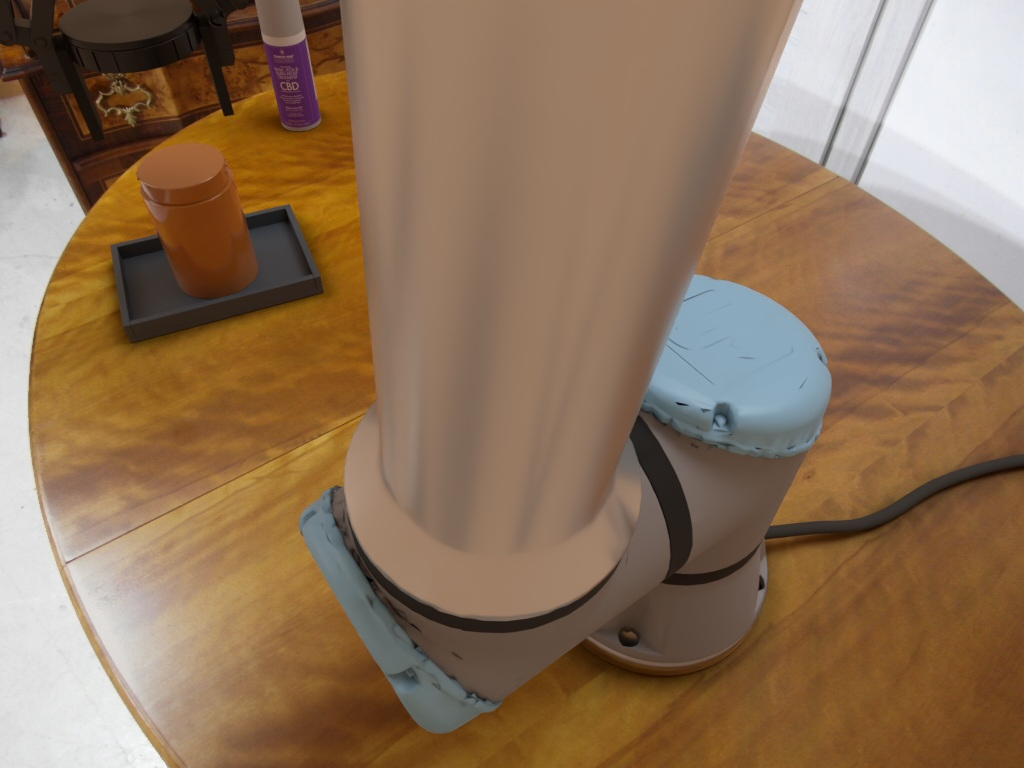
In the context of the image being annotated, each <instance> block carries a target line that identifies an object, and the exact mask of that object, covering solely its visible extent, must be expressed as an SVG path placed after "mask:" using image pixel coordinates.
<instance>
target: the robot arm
mask: <svg viewBox="0 0 1024 768" xmlns="http://www.w3.org/2000/svg"><path fill="white" fill-rule="evenodd" d="M804 1H805V0H339V10H340V20H341V30H342V43H343V50H344V51H343V53H344V63H345V65H344V66H345V73H346V74H345V75H346V84H347V85H346V86H347V95H348V97H347V98H348V107H349V117H350V119H349V120H350V128H351V129H350V130H351V139H352V151H353V161H354V173H355V182H356V194H357V205H358V215H359V225H360V236H361V247H362V258H363V260H362V261H363V269H364V281H365V290H366V291H365V292H366V301H367V303H366V304H367V312H368V313H367V314H368V323H369V337H370V345H371V357H372V366H373V368H372V369H373V379H374V390H375V401H374V402H373V403H372V404H370V406H369V407H368V409H367V410H366V412H365V413H364V415H363V416H362V418H361V419H360V421H359V423H358V424H357V426H356V428H355V430H354V432H353V434H352V435H351V439H350V442H349V445H348V448H347V450H346V454H345V460H344V466H343V486H340V485H337V484H336V485H334V486H332V487H330V488H327V489H325V490H324V491H323V492H322V493H321V494H320V495H321V496H320V497H319V498H317V499H316V500H314V501H313V502H311V503H310V504H309V505H308V506H306V507H305V508H304V509H303V510H302V512H301V514H300V515H299V519H298V530H299V533H300V535H301V536H302V538H303V541H304V544H305V546H306V548H307V550H308V551H309V553H310V555H311V557H312V559H313V560H314V562H315V564H316V566H317V568H318V569H319V571H320V572H321V574H322V576H323V578H324V579H325V581H326V583H327V584H328V586H329V588H330V589H331V591H332V593H333V594H334V596H335V598H336V600H337V601H338V603H339V605H340V606H341V607H342V610H343V611H344V613H345V614H346V617H347V618H348V620H349V621H350V623H351V625H352V626H353V629H355V631H356V633H357V635H358V636H359V638H360V639H361V642H363V645H364V646H365V648H366V649H367V651H368V652H369V654H370V655H371V657H372V658H373V660H374V662H375V663H376V664H377V666H378V667H379V668H380V670H381V671H382V674H383V675H384V677H385V678H386V680H387V681H388V682H389V683H390V685H391V687H392V689H393V691H394V693H395V695H397V697H398V699H399V701H400V702H401V704H402V706H403V707H404V708H405V710H406V711H407V713H408V714H409V715H410V717H411V718H412V720H414V722H415V723H416V725H418V727H421V728H422V729H423V730H425V731H426V732H428V733H429V732H430V733H433V734H439V735H441V734H449V733H451V732H454V731H456V730H458V729H459V728H461V727H462V726H464V725H465V724H467V723H468V722H470V721H472V720H473V719H475V718H477V717H478V716H480V715H481V714H484V713H485V714H487V713H492V712H493V711H495V710H496V709H498V708H499V707H500V706H501V705H502V704H503V701H504V700H505V699H506V698H507V697H508V696H510V695H512V693H514V692H515V691H516V690H518V689H519V688H520V687H522V686H524V684H526V683H527V682H529V681H530V680H531V679H533V678H534V677H535V676H537V675H538V674H540V673H541V672H542V671H544V670H545V669H546V668H548V667H549V666H550V665H552V664H553V663H555V662H556V661H557V660H559V659H560V658H561V657H563V656H564V655H566V653H568V652H570V651H571V650H572V649H574V648H575V647H576V646H578V645H579V644H580V645H581V646H582V647H583V648H584V649H586V650H587V651H589V652H590V653H592V655H595V656H596V657H597V658H600V660H603V661H605V662H607V663H609V664H611V665H613V666H616V667H618V668H620V669H624V670H627V671H630V672H633V673H638V674H643V675H649V676H650V675H651V676H663V677H665V676H666V677H668V676H680V675H685V674H686V675H687V674H691V673H694V672H695V673H696V672H699V671H702V670H704V669H708V668H709V667H712V666H714V665H715V664H717V663H720V662H721V661H723V660H724V659H725V658H727V657H728V656H730V655H731V654H732V653H733V652H735V650H737V649H738V648H739V646H740V645H741V644H742V643H743V642H744V641H745V640H746V638H747V636H748V635H749V634H750V632H751V631H752V629H753V627H754V625H755V623H756V622H757V620H758V618H759V616H760V614H761V613H762V610H763V607H764V605H765V602H766V599H767V594H768V588H769V564H768V563H769V562H768V558H767V549H766V540H775V539H784V538H785V539H786V538H792V537H802V536H803V537H804V536H810V535H811V536H812V535H832V534H849V533H850V534H851V533H855V532H861V531H866V530H870V529H872V528H875V527H878V526H880V525H883V524H885V523H887V522H889V521H891V520H893V519H896V518H897V517H899V516H901V515H903V514H904V513H906V512H907V511H908V510H910V509H912V508H914V507H915V506H917V505H918V504H919V503H921V502H923V501H924V500H925V499H927V498H929V497H930V496H932V495H934V494H936V493H937V492H940V491H941V490H944V489H946V488H949V487H951V486H953V485H956V484H959V483H962V482H964V481H968V480H971V479H974V478H977V477H980V476H983V475H986V474H990V473H995V472H1000V471H1003V470H1009V469H1013V468H1014V469H1015V468H1020V467H1024V453H1021V454H1015V455H1010V456H1004V457H998V458H994V459H991V460H987V461H982V462H979V463H975V464H972V465H969V466H968V465H967V466H965V467H963V468H959V469H956V470H954V471H950V472H948V473H945V474H943V475H940V476H937V477H935V478H933V479H931V480H929V481H927V482H925V483H923V484H921V485H920V486H918V487H916V488H915V489H913V490H911V491H910V492H909V493H907V494H905V495H903V496H902V497H900V498H899V499H898V500H896V501H895V502H893V503H891V504H890V505H888V506H885V507H884V508H882V509H880V510H878V511H875V512H873V513H871V514H868V515H865V516H861V517H857V518H852V519H842V520H837V519H836V520H815V521H814V520H811V521H803V522H792V523H783V524H774V525H772V523H773V521H774V518H775V517H776V515H777V513H778V511H779V509H780V507H781V505H782V503H783V502H784V499H785V497H786V496H787V494H788V492H789V490H790V488H791V486H792V484H793V482H794V480H795V478H796V476H797V474H798V472H799V470H800V468H801V466H802V464H803V463H804V460H805V459H806V456H807V454H808V453H809V451H810V449H812V447H813V445H814V443H816V442H817V441H818V439H819V438H820V437H821V435H820V434H821V432H822V429H823V418H824V416H825V413H826V410H827V408H828V405H829V402H830V399H831V395H832V386H833V383H832V382H833V380H832V379H833V378H832V374H831V372H830V370H829V368H828V359H827V355H826V353H825V351H824V349H823V348H822V346H821V344H820V342H819V341H818V339H817V338H816V337H815V335H814V334H813V332H812V331H811V330H810V329H809V328H808V327H807V326H806V325H805V324H804V323H803V322H802V321H801V320H800V319H799V318H798V317H797V316H796V315H794V313H793V312H791V311H790V310H789V309H787V308H786V307H784V306H783V305H781V304H780V303H779V302H777V301H775V300H773V299H772V298H770V297H768V296H767V295H765V294H762V293H760V292H758V291H756V290H754V289H752V288H750V287H749V286H744V285H742V284H739V283H737V282H734V281H730V280H726V279H718V278H713V277H710V276H707V275H703V274H696V271H697V268H698V265H699V263H700V260H701V258H702V256H703V253H704V251H705V249H706V246H707V243H708V241H709V238H710V235H711V233H712V231H713V228H714V226H715V223H716V220H717V217H718V215H719V213H720V210H721V208H722V205H723V203H724V201H725V198H726V195H727V193H728V190H729V188H730V186H731V184H732V181H733V179H734V176H735V173H736V171H737V168H738V165H739V164H740V161H741V158H742V155H743V153H744V150H745V148H746V146H747V143H748V141H749V138H750V135H751V134H752V131H753V128H754V125H755V123H756V121H757V118H758V115H759V113H760V111H761V108H762V106H763V103H764V101H765V98H766V96H767V94H768V90H769V89H770V87H771V83H772V80H773V79H774V77H775V73H776V71H777V69H778V66H779V63H780V61H781V59H782V55H783V53H784V51H785V48H786V45H787V43H788V42H789V38H790V36H791V34H792V31H793V28H794V26H795V23H796V21H797V19H798V15H799V14H800V11H801V8H802V6H803V3H804ZM192 2H193V3H194V4H195V6H196V7H197V8H198V10H200V12H195V15H197V17H198V21H199V22H198V28H199V31H200V35H201V46H202V49H203V52H204V56H205V59H206V63H207V67H208V69H209V73H210V77H211V80H212V84H213V87H214V91H215V94H216V98H217V101H218V104H219V107H220V109H221V112H222V114H223V117H230V116H234V115H235V112H234V108H233V104H232V100H231V96H230V94H229V91H228V90H229V89H228V86H227V83H226V79H225V76H224V71H223V68H224V67H228V66H234V65H235V63H236V62H235V61H236V55H235V51H234V47H233V44H232V43H233V42H232V39H231V36H230V31H229V28H228V23H227V22H228V21H227V20H228V17H229V16H230V15H231V14H232V13H234V12H236V11H237V10H238V11H243V10H245V9H246V8H248V5H249V0H192ZM29 7H30V9H29V19H28V18H22V17H17V16H16V14H15V9H14V5H13V0H0V45H1V46H4V47H13V46H15V45H16V46H23V47H26V48H29V49H30V50H32V51H33V52H34V53H35V54H36V55H37V57H38V60H39V62H40V64H41V67H42V68H43V71H44V73H45V75H46V77H47V80H48V82H49V84H50V86H51V89H52V90H53V91H54V92H55V93H56V94H57V95H58V96H59V97H60V96H65V95H70V94H73V95H72V96H73V97H74V99H75V102H76V104H77V106H78V109H79V111H80V113H81V116H82V118H83V120H84V122H85V124H86V127H87V129H88V131H89V135H90V137H91V138H92V141H93V142H100V141H105V140H106V138H105V137H106V136H105V132H104V131H105V130H104V125H103V121H102V118H101V116H100V113H99V111H98V109H97V106H96V103H95V102H94V100H93V96H92V94H91V92H90V89H89V87H88V85H87V82H86V80H85V78H84V74H83V73H82V70H81V68H80V66H79V65H77V64H76V63H75V62H74V61H72V59H71V57H70V54H69V52H68V50H67V47H66V45H65V43H64V41H63V38H62V36H61V33H59V34H54V24H55V22H54V21H55V20H54V19H55V9H56V0H30V6H29Z"/></svg>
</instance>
